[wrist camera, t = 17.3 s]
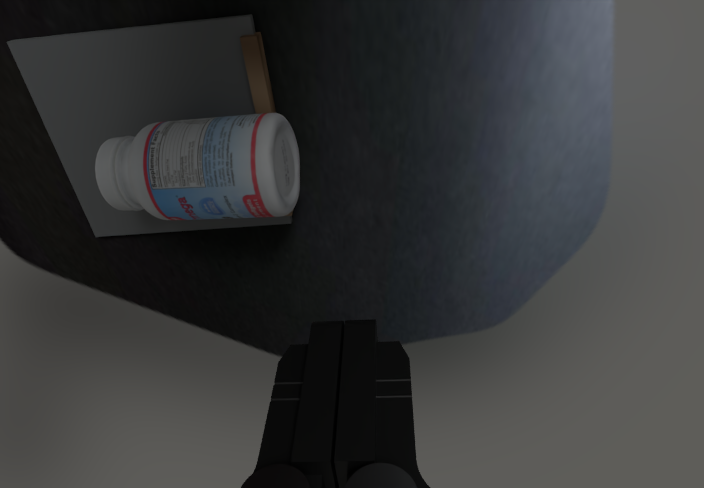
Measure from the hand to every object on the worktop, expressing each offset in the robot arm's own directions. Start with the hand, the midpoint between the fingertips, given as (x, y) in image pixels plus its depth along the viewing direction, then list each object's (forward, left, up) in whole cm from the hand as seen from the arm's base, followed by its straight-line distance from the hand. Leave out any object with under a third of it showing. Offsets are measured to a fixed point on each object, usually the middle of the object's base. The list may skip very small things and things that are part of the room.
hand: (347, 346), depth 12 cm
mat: (+3, -14, -23) cm, 27 cm away
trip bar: (+3, -7, -23) cm, 24 cm away
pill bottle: (+3, -5, -19) cm, 19 cm away
